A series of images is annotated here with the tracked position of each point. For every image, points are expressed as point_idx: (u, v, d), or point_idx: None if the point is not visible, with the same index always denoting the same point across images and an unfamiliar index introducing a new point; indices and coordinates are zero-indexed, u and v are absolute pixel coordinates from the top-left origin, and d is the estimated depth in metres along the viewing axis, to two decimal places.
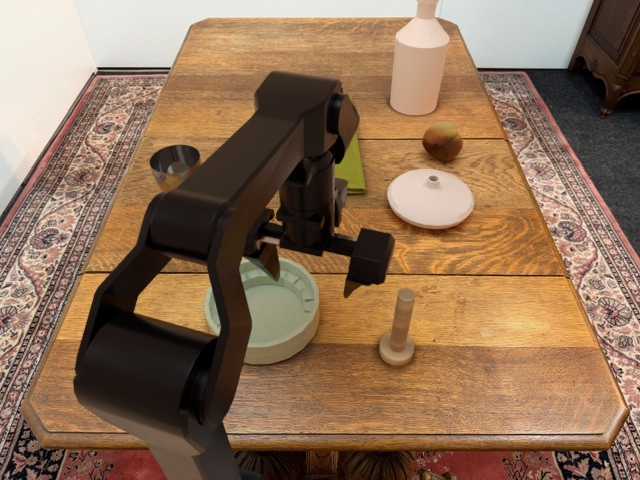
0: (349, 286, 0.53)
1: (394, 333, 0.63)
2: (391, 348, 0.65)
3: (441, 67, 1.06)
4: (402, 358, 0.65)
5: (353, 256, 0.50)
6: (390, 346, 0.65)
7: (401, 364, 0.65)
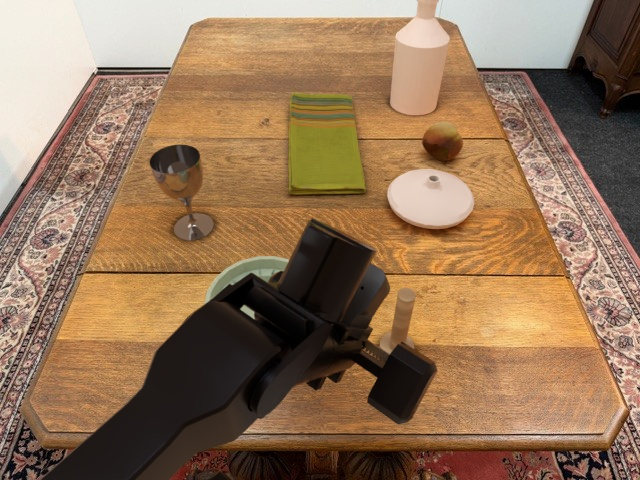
0: None
1: (394, 333, 0.63)
2: (391, 348, 0.65)
3: (441, 67, 1.06)
4: None
5: (370, 397, 0.42)
6: (390, 346, 0.65)
7: None
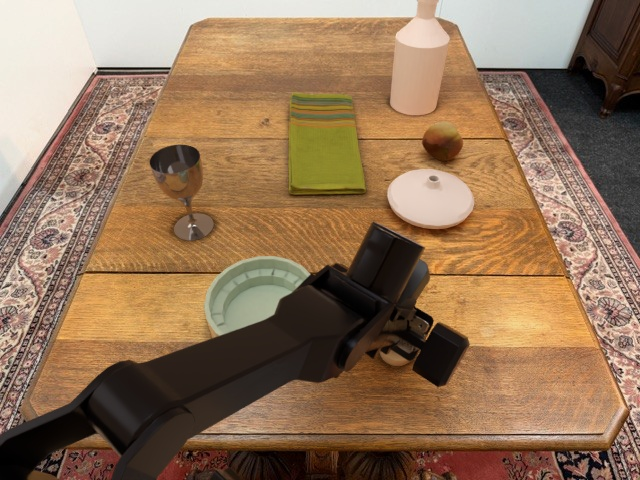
0: None
1: None
2: None
3: (441, 67, 1.06)
4: (402, 358, 0.65)
5: (414, 365, 0.52)
6: None
7: (401, 364, 0.65)
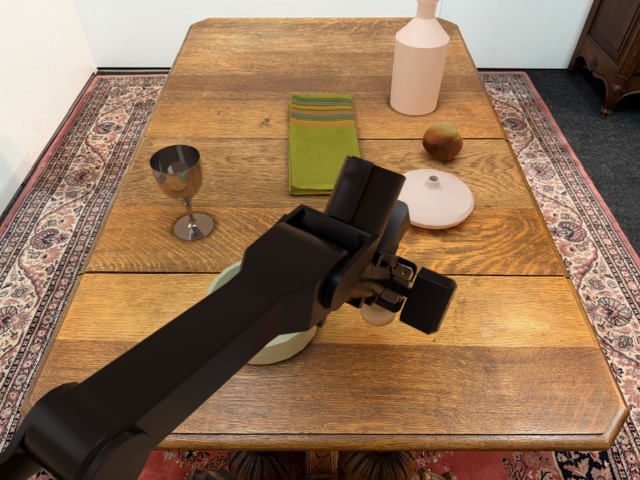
0: None
1: None
2: (373, 308, 0.62)
3: (441, 67, 1.06)
4: (385, 317, 0.61)
5: (402, 314, 0.48)
6: (371, 306, 0.62)
7: (384, 324, 0.62)
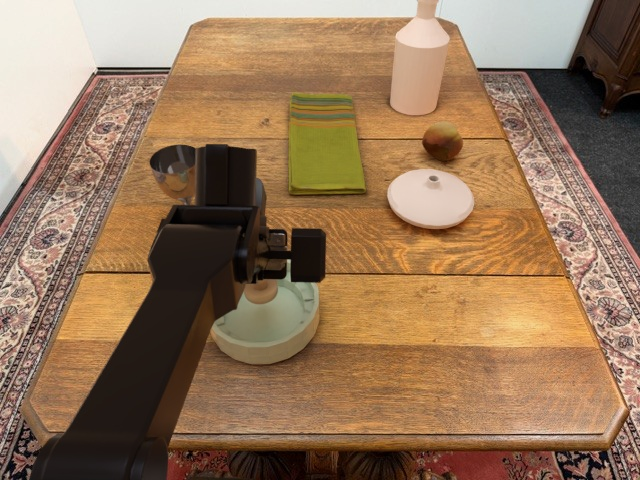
0: None
1: None
2: (257, 289, 0.65)
3: (441, 67, 1.06)
4: (271, 291, 0.65)
5: (292, 275, 0.53)
6: (255, 287, 0.65)
7: (272, 298, 0.65)
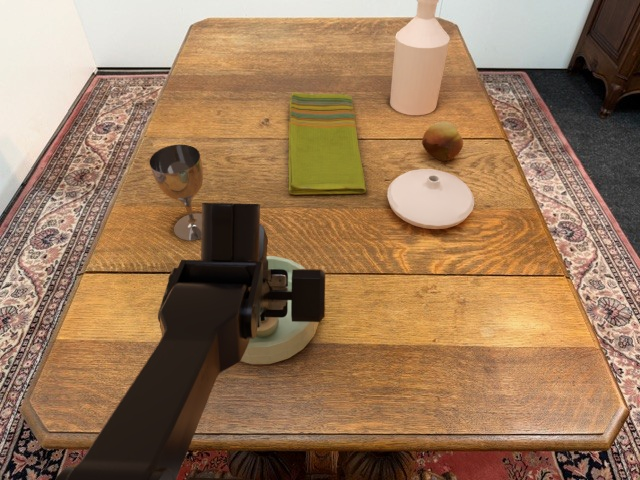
0: None
1: None
2: None
3: (441, 67, 1.06)
4: (272, 324, 0.67)
5: (293, 315, 0.55)
6: None
7: (273, 330, 0.68)
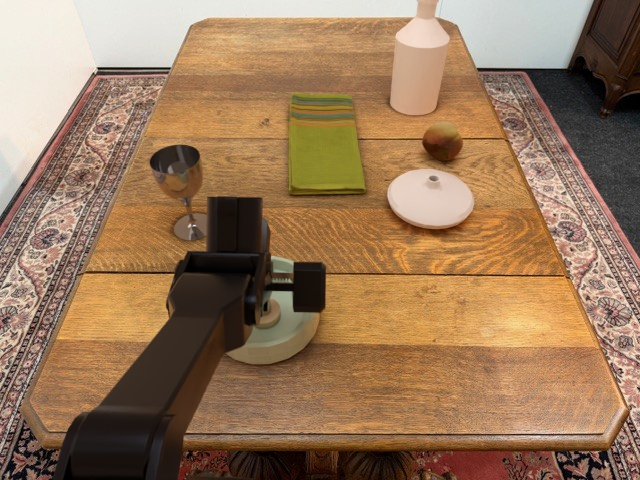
0: None
1: None
2: None
3: (441, 67, 1.06)
4: (274, 317, 0.69)
5: (294, 306, 0.57)
6: None
7: (275, 323, 0.70)
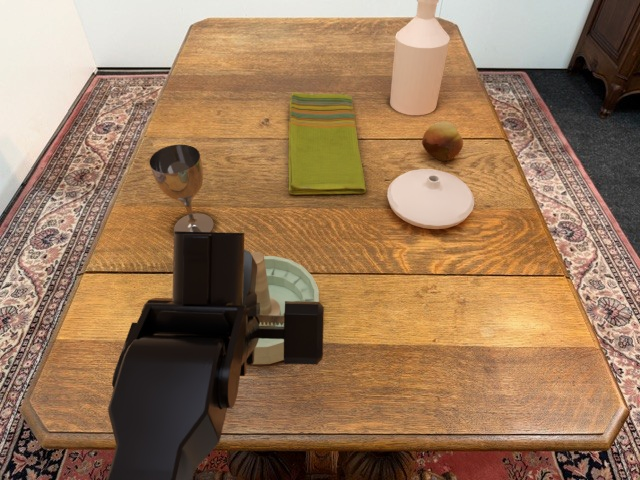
0: None
1: (259, 299, 0.66)
2: None
3: (441, 67, 1.06)
4: None
5: (285, 357, 0.47)
6: None
7: (275, 323, 0.70)
